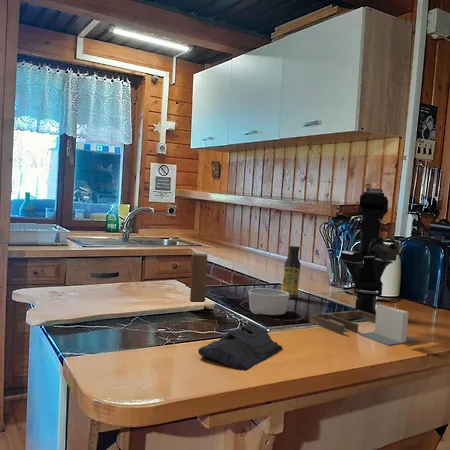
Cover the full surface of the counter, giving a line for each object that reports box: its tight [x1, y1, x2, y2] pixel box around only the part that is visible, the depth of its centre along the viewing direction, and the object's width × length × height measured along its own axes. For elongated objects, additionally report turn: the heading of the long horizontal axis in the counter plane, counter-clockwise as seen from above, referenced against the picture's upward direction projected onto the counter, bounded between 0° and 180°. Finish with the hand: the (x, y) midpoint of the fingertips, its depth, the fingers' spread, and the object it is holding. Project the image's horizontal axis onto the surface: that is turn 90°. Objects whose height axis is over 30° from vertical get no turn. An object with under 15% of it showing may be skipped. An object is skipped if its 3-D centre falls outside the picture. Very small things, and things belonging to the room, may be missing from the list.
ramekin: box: [248, 287, 290, 316], centre depth 150 cm, size 13×13×7 cm
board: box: [374, 304, 409, 342], centre depth 126 cm, size 2×9×8 cm, turn 30°
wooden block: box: [189, 252, 208, 302], centre depth 150 cm, size 9×4×18 cm, turn 0°
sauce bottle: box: [280, 244, 301, 299], centre depth 177 cm, size 6×6×20 cm
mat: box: [358, 331, 420, 347], centre depth 127 cm, size 12×10×1 cm
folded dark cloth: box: [198, 323, 283, 371], centre depth 110 cm, size 15×22×5 cm
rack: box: [309, 310, 376, 335], centre depth 138 cm, size 20×13×3 cm, turn 120°
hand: (366, 283), depth 143 cm, fingers open, 9 cm apart
